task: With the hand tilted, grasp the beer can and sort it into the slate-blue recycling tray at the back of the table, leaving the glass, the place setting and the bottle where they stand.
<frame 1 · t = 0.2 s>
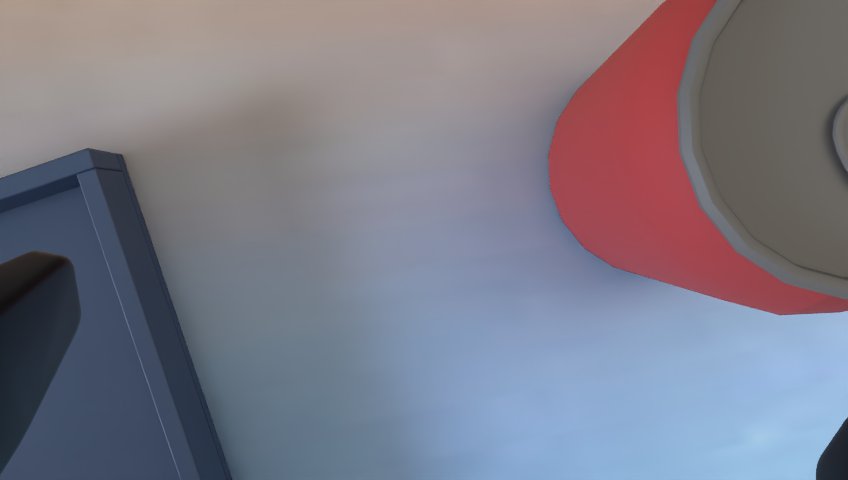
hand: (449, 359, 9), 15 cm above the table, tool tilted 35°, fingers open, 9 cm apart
beer can: (652, 167, 23), on the table
recycling tray: (5, 449, 24), on the table
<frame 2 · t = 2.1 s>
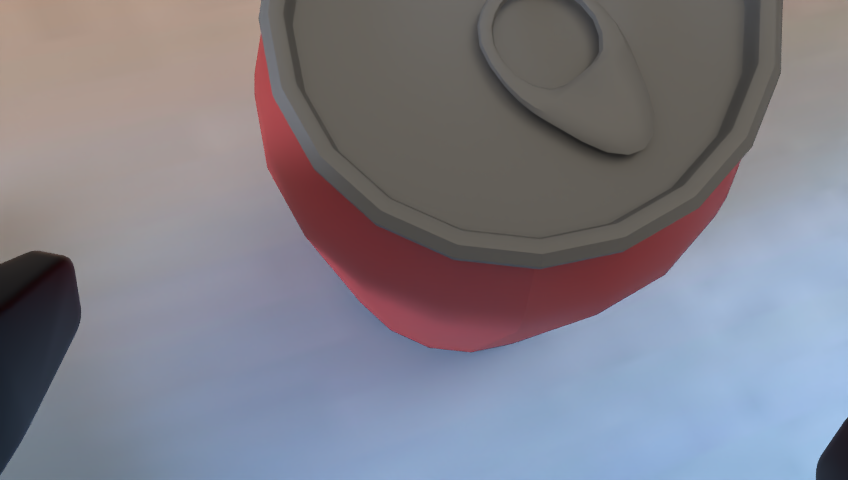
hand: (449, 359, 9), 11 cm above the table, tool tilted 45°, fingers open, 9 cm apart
beer can: (461, 226, 20), on the table
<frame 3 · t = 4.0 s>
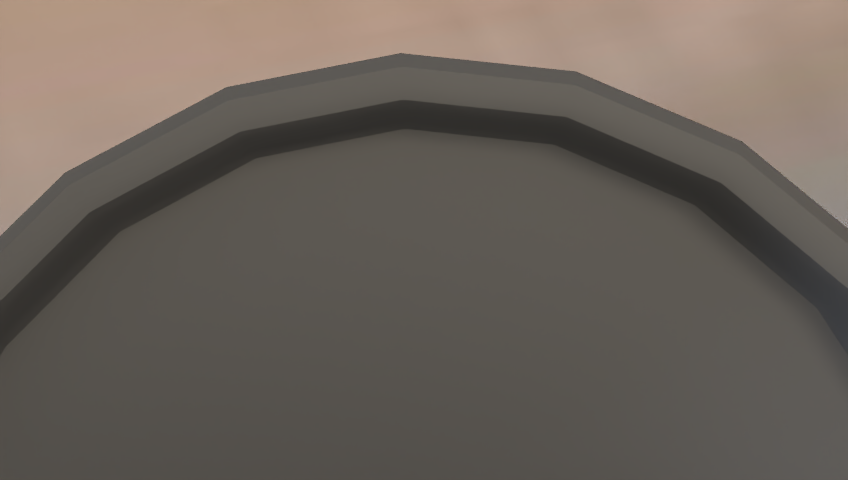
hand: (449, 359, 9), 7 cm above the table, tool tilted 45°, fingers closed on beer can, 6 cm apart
beer can: (423, 433, 15), on the table, touching gripper
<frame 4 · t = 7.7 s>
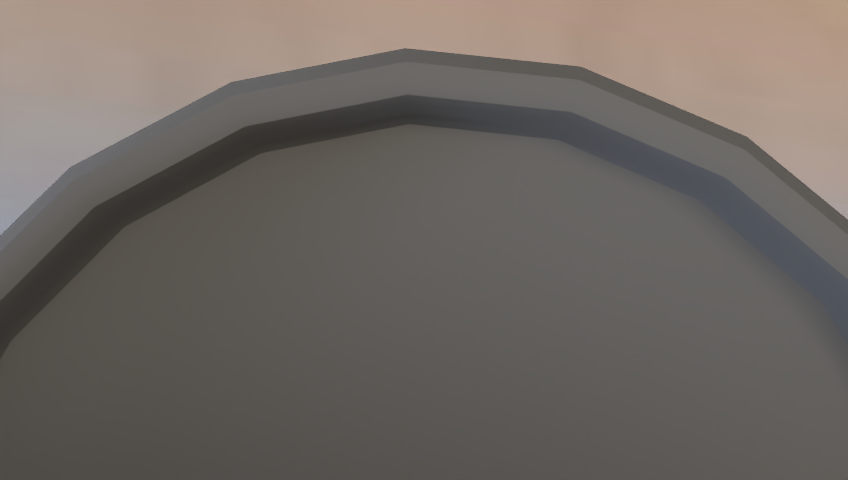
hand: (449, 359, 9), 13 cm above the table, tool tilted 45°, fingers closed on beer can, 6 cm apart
beer can: (424, 432, 15), point 6 cm above the table, touching gripper
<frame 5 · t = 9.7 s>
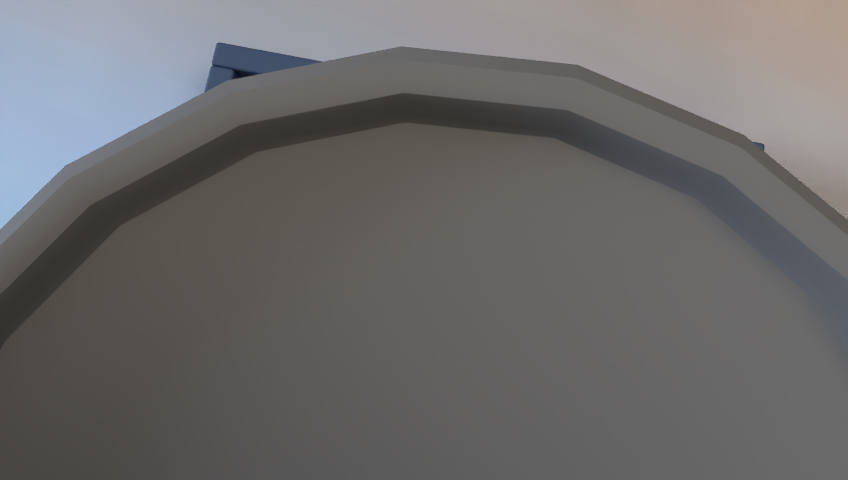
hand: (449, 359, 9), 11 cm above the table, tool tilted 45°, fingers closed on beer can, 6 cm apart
beer can: (423, 431, 15), point 4 cm above the table, touching gripper
recycling tray: (426, 408, 19), on the table
when the fingers open (7 cm above the table, at t = 11.3 s): beer can stays where it is, resting on recycling tray.
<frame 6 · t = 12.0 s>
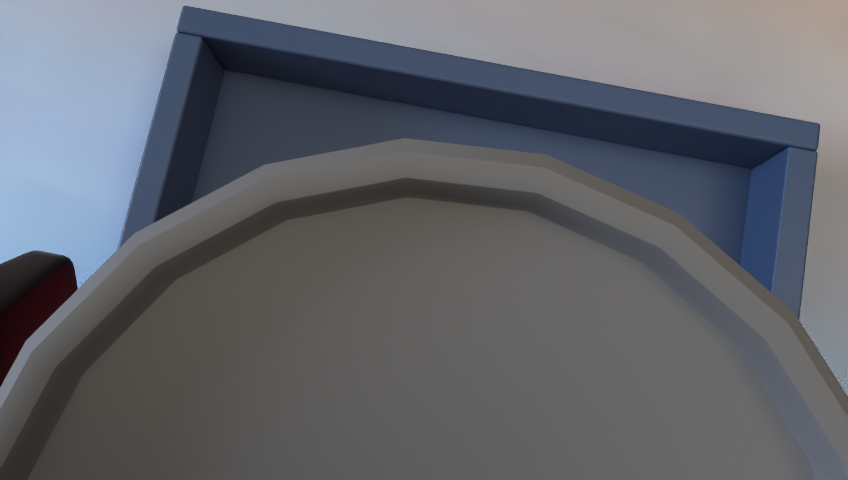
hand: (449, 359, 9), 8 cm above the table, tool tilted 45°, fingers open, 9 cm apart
beer can: (422, 438, 16), resting on recycling tray
recycling tray: (425, 431, 16), on the table
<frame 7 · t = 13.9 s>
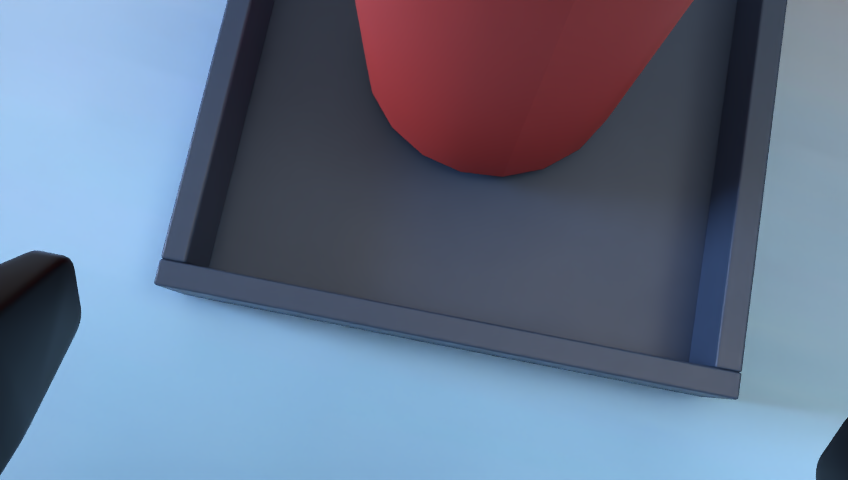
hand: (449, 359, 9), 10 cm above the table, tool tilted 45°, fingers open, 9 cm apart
beer can: (492, 63, 20), resting on recycling tray
recycling tray: (494, 62, 20), on the table
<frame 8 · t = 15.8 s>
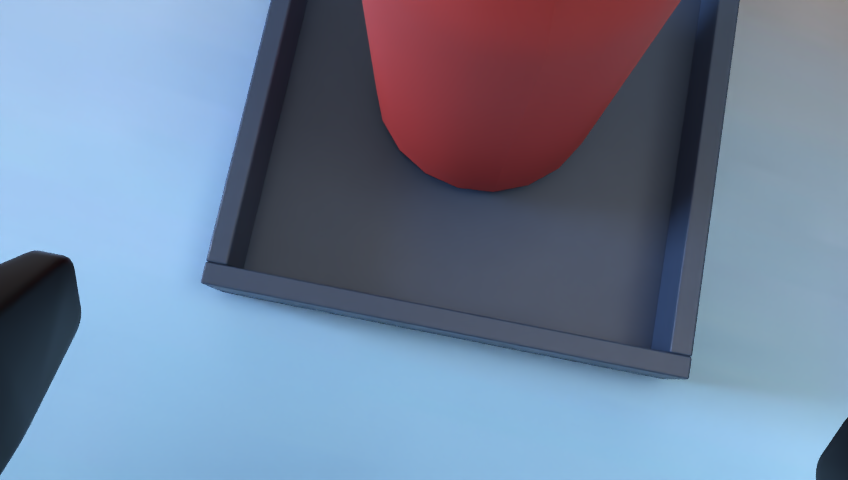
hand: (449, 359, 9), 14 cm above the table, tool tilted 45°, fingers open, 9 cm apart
beer can: (484, 94, 23), resting on recycling tray
recycling tray: (486, 92, 24), on the table
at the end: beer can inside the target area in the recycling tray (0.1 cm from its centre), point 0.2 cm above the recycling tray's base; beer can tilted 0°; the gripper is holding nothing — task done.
